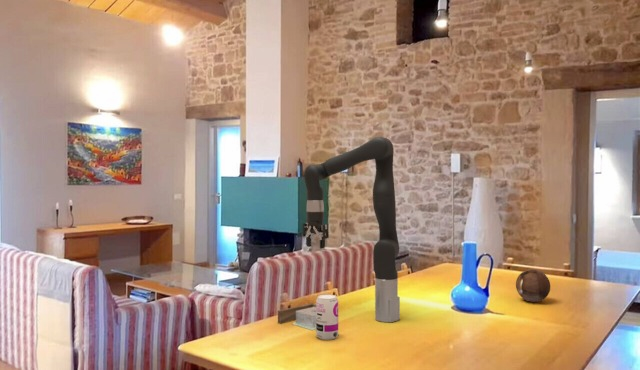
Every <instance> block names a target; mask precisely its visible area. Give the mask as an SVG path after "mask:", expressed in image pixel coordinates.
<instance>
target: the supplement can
mask: <svg viewBox="0 0 640 370" xmlns="http://www.w3.org/2000/svg"><path fill="white" fill-rule="evenodd" d="M315 302H316V303H315V304H316V330H315V331H316V337H317V338H318V339H320V340H324V341H329V340H330V341H331V340H334V339H337V337H338V336H339V299H338V297H337V295H334V294H320V295H317V298H316V301H315Z"/></svg>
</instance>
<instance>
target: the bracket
mask: <svg viewBox="0 0 640 370" xmlns="http://www.w3.org/2000/svg"><path fill="white" fill-rule="evenodd" d="M295 323H296V324H299V325H303V326H306V327H309V328H312V329H313V328H316V307H311V308H307V309H302V310H298V311H296V320H295Z"/></svg>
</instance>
